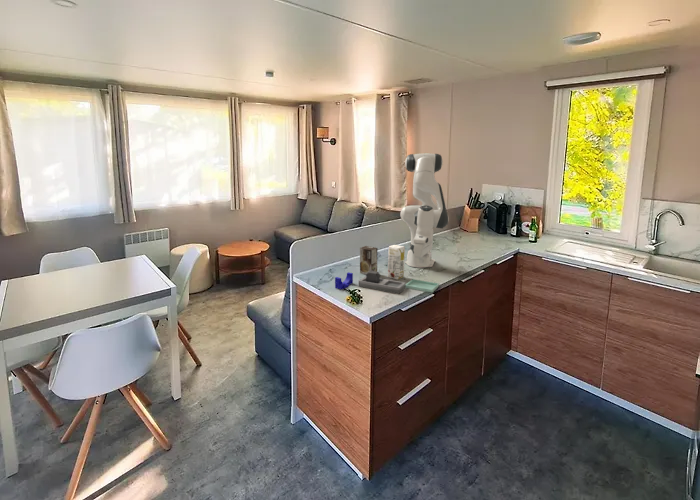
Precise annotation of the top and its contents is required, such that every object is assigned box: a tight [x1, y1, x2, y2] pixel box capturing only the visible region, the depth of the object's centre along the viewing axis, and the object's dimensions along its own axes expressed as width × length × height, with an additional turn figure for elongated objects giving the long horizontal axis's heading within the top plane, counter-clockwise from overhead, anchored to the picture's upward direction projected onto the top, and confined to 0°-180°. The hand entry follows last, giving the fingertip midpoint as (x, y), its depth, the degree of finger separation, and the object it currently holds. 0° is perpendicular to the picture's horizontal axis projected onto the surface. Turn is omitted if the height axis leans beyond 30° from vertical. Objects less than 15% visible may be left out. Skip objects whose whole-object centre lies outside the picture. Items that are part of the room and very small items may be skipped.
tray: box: [405, 278, 440, 294], centre depth 212 cm, size 12×16×2 cm
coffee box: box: [359, 245, 378, 275], centre depth 234 cm, size 9×6×16 cm
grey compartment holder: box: [358, 271, 407, 295], centre depth 211 cm, size 10×24×8 cm, turn 61°
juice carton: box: [387, 244, 406, 281], centre depth 226 cm, size 8×9×19 cm
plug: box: [416, 254, 430, 268], centre depth 209 cm, size 4×6×6 cm
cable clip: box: [334, 272, 354, 291], centre depth 213 cm, size 12×4×6 cm, turn 142°
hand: (423, 261), depth 209 cm, fingers closed on plug, 4 cm apart
